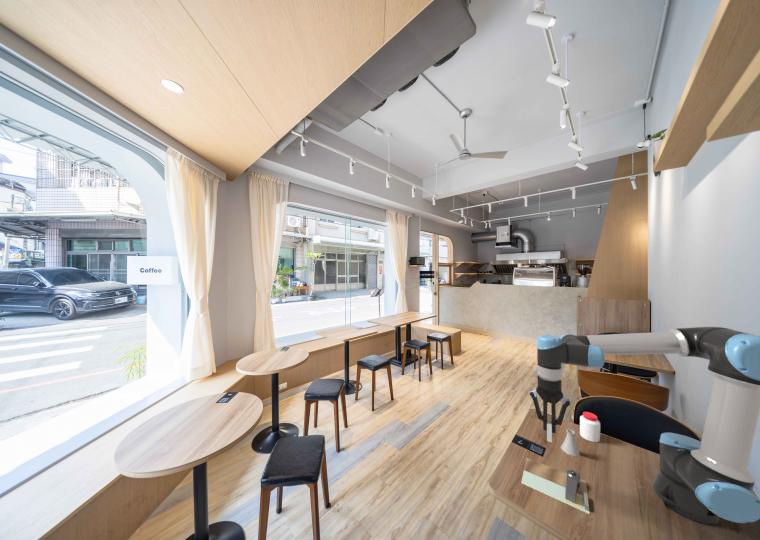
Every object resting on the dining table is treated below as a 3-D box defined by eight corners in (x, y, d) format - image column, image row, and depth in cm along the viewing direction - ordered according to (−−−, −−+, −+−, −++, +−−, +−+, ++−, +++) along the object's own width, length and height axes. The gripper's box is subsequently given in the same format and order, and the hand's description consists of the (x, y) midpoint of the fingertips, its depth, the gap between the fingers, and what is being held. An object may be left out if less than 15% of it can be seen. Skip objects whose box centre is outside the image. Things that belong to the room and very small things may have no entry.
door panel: (587, 500, 90) (587, 492, 90) (589, 517, 84) (589, 509, 84) (523, 472, 102) (523, 466, 102) (521, 486, 95) (521, 478, 95)
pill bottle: (581, 429, 130) (582, 408, 130) (601, 437, 124) (601, 415, 124) (577, 436, 125) (578, 414, 125) (598, 444, 119) (598, 421, 119)
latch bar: (567, 476, 99) (567, 466, 99) (580, 482, 96) (580, 471, 96) (563, 497, 89) (563, 486, 89) (577, 504, 87) (577, 493, 87)
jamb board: (585, 484, 97) (586, 481, 97) (587, 499, 90) (587, 496, 90) (526, 460, 108) (526, 457, 108) (523, 472, 102) (523, 469, 102)
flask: (584, 460, 109) (584, 437, 109) (565, 458, 110) (566, 435, 110) (574, 448, 116) (575, 427, 116) (557, 446, 117) (557, 425, 117)
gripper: (570, 378, 94) (571, 441, 94) (530, 370, 101) (530, 428, 101) (571, 385, 88) (571, 453, 88) (528, 376, 95) (528, 438, 95)
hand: (549, 439), depth 95 cm, fingers closed
